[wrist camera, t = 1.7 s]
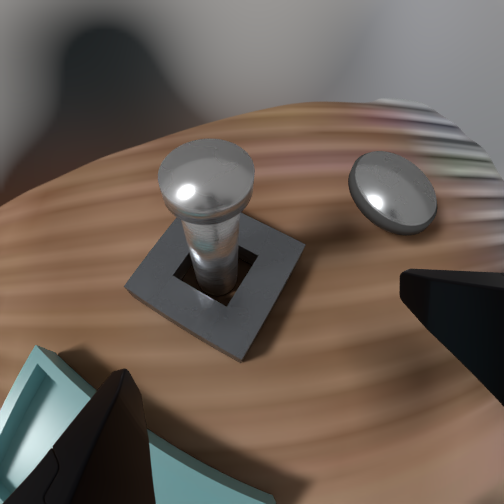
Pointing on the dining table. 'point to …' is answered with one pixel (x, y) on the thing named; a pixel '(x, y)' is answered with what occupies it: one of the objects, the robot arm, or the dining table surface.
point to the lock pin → (209, 205)
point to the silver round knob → (392, 193)
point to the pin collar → (205, 308)
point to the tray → (64, 412)
